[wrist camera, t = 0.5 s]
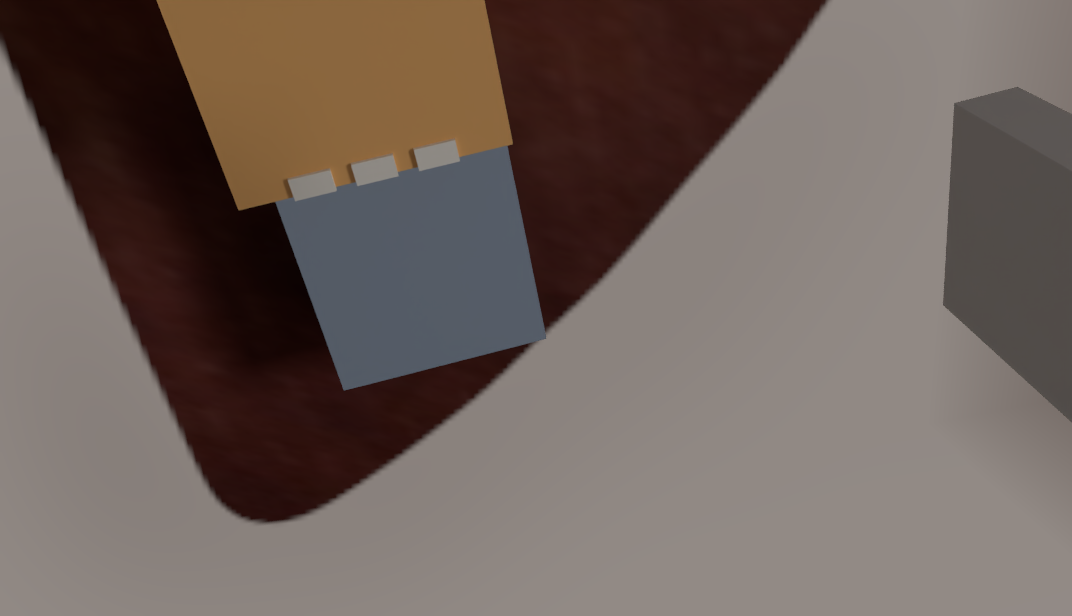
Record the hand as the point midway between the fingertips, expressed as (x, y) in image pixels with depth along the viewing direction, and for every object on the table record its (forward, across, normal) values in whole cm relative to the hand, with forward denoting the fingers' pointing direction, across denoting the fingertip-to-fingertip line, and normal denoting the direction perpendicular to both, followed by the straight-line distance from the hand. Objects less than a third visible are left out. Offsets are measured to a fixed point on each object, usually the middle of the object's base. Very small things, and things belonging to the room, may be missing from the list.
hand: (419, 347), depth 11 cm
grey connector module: (+21, -1, -7) cm, 23 cm away
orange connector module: (+21, -1, +1) cm, 21 cm away
